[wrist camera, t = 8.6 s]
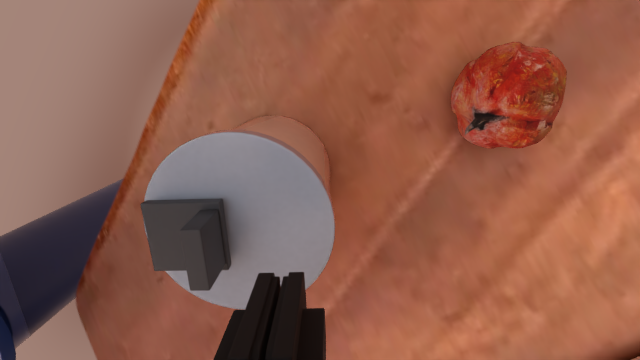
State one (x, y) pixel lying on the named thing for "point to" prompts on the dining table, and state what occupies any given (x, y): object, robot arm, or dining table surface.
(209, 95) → the dining table surface
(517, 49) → the pomegranate
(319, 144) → the travel mug
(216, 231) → the slider
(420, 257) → the dining table surface
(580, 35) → the dining table surface
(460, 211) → the dining table surface
